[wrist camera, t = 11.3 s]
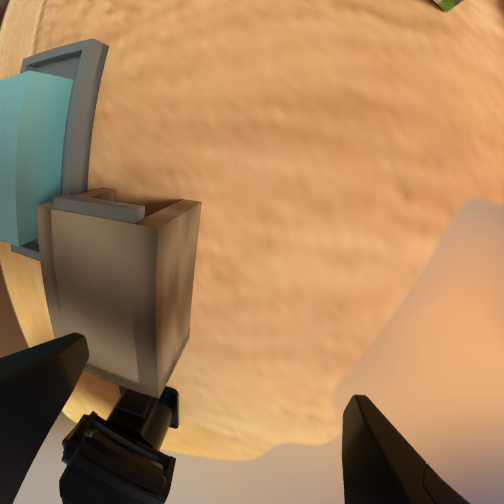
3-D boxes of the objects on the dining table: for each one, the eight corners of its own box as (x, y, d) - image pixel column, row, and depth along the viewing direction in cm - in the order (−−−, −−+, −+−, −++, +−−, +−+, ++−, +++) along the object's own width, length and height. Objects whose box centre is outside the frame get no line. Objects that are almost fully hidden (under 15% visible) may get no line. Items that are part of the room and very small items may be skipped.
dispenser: (188, 338, 22) (159, 398, 16) (105, 313, 23) (60, 359, 16) (202, 193, 18) (159, 215, 12) (102, 180, 19) (36, 195, 12)
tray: (87, 261, 21) (72, 271, 19) (26, 243, 22) (11, 250, 19) (108, 46, 15) (93, 38, 13) (39, 62, 16) (23, 59, 14)
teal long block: (60, 227, 20) (18, 246, 15) (32, 221, 20) (-8, 237, 15) (73, 79, 16) (29, 70, 11) (42, 85, 16) (0, 80, 11)
